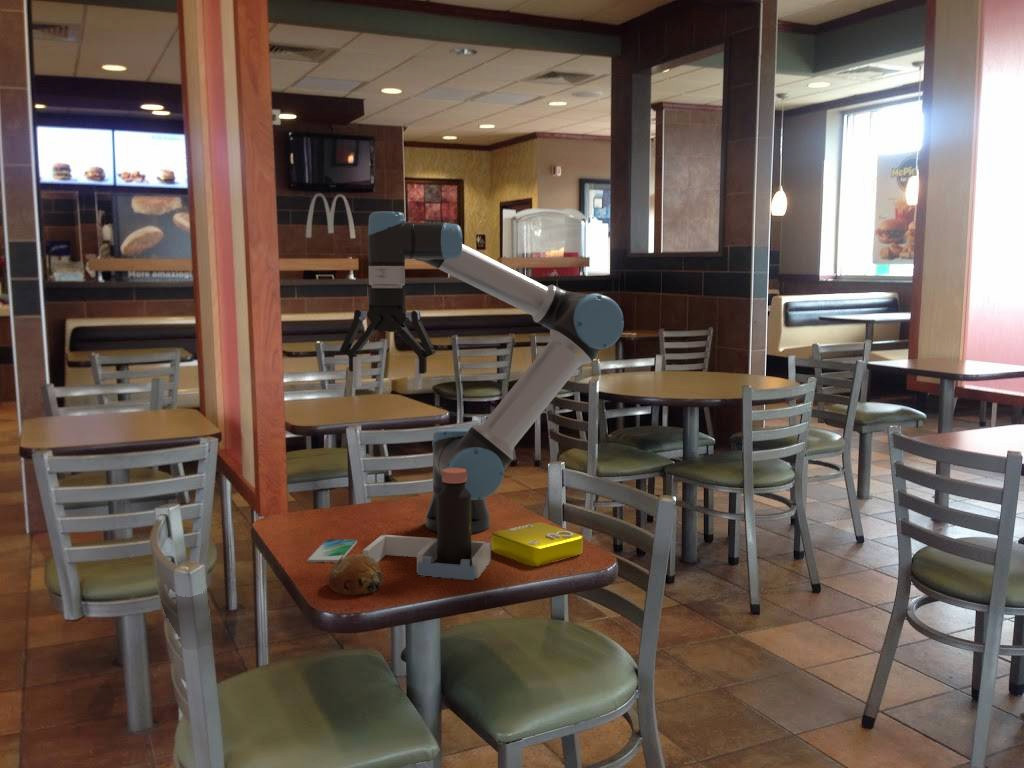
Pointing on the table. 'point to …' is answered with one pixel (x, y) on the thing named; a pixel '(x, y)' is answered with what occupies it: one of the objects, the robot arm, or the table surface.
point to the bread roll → (355, 575)
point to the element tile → (537, 543)
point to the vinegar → (453, 518)
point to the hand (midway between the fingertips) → (387, 388)
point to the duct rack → (431, 556)
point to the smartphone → (332, 550)
